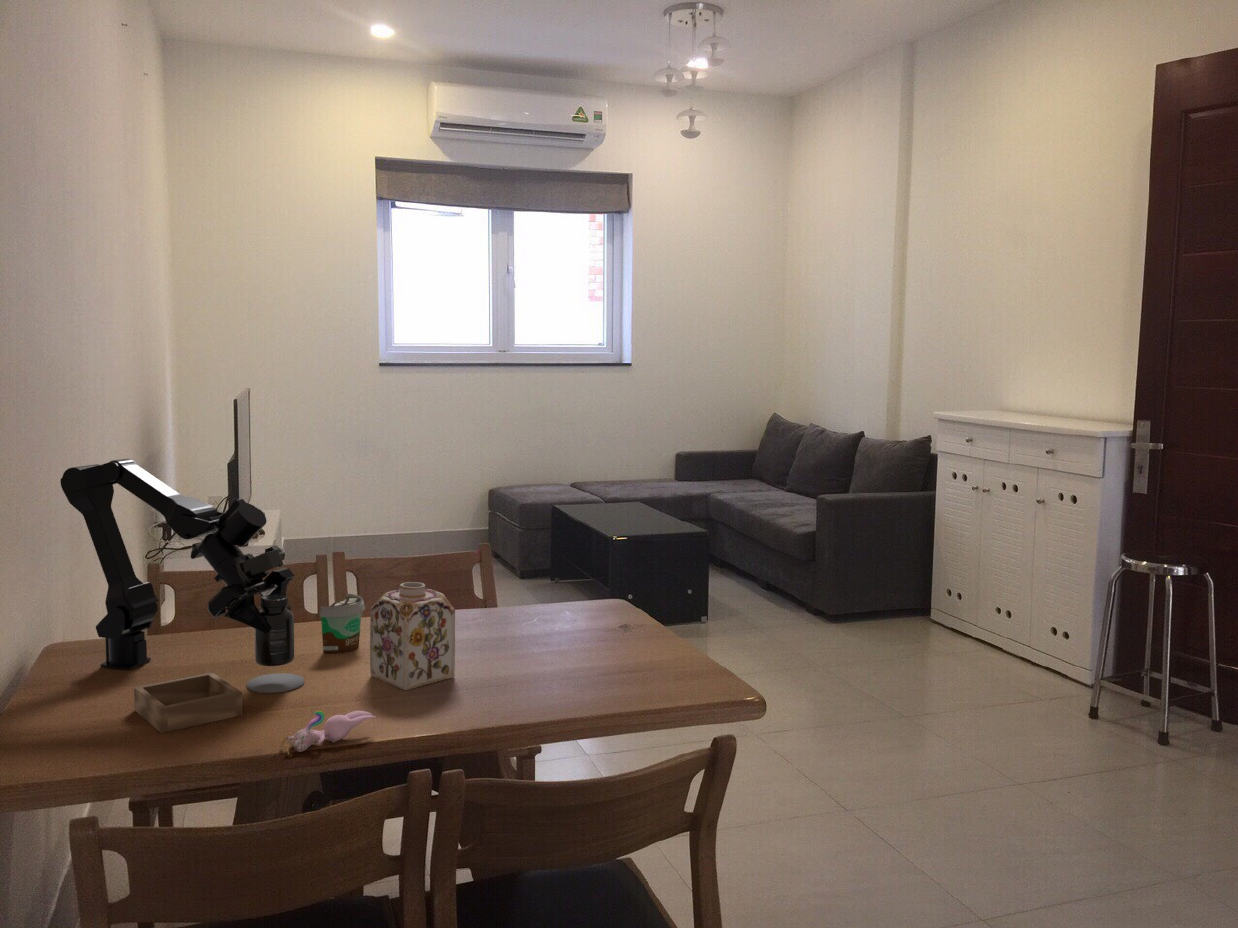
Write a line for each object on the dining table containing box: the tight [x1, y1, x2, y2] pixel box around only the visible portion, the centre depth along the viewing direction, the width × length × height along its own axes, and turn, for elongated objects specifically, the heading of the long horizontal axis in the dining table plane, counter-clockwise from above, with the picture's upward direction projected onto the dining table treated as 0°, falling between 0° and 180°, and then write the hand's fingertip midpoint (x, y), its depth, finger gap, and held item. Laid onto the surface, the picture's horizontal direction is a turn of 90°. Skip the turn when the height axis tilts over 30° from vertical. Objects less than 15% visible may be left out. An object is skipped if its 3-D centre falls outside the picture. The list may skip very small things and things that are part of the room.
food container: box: [319, 593, 366, 655], centre depth 207 cm, size 12×6×10 cm, turn 168°
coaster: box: [246, 672, 305, 694], centre depth 185 cm, size 10×10×1 cm
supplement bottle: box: [254, 594, 295, 667], centre depth 184 cm, size 7×7×12 cm
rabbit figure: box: [279, 710, 377, 755], centre depth 158 cm, size 6×6×15 cm
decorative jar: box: [369, 581, 456, 691], centre depth 190 cm, size 12×12×18 cm
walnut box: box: [133, 672, 243, 734], centre depth 169 cm, size 13×13×4 cm
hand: (280, 626), depth 183 cm, fingers closed on supplement bottle, 7 cm apart
